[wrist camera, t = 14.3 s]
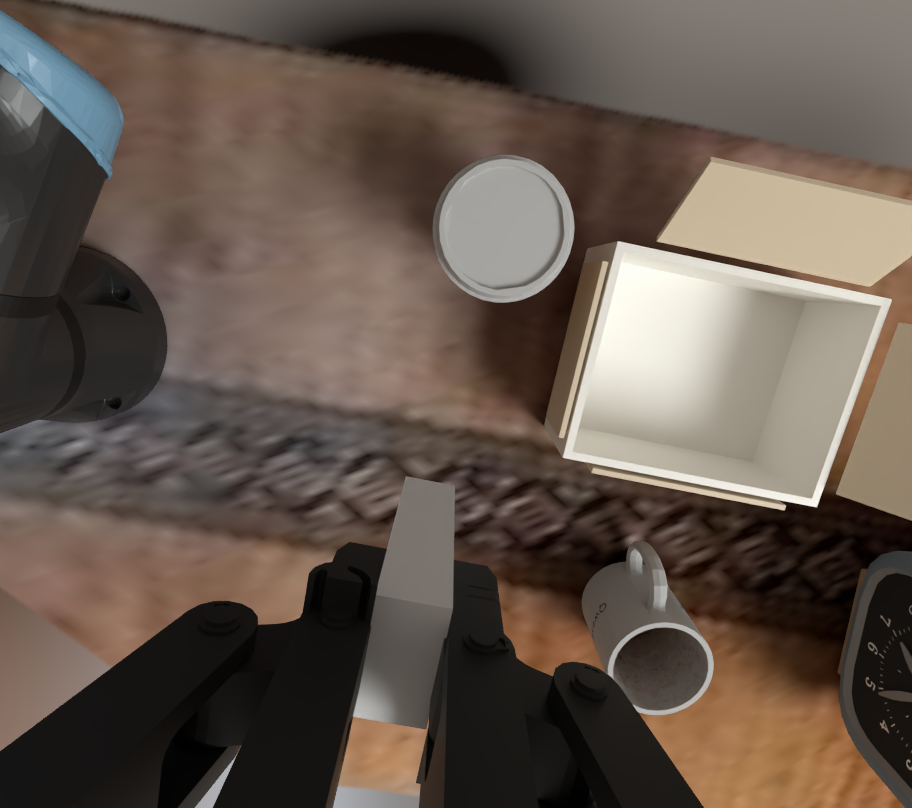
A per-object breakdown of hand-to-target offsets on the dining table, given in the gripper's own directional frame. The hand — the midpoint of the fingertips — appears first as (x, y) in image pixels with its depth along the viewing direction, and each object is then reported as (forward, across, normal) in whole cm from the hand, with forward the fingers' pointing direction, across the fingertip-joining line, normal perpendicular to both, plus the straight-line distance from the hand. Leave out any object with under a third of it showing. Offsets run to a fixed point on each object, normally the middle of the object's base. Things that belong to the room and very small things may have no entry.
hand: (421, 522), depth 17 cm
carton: (+34, +20, +4) cm, 40 cm away
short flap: (+22, +33, +4) cm, 40 cm away
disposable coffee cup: (+35, +2, +11) cm, 36 cm away
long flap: (+21, +20, +14) cm, 33 cm away
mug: (+35, +22, -18) cm, 45 cm away
